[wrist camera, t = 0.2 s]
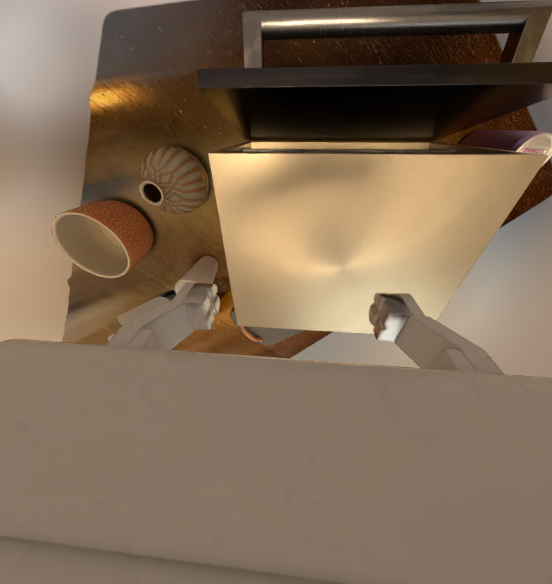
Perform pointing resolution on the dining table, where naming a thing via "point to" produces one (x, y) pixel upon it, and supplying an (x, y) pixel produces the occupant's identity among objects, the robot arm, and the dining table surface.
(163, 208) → the vase
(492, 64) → the oven door
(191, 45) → the dining table surface
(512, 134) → the beverage can
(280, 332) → the serving tray
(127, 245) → the planter
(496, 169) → the oven
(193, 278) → the cup
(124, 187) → the dining table surface
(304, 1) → the dining table surface
